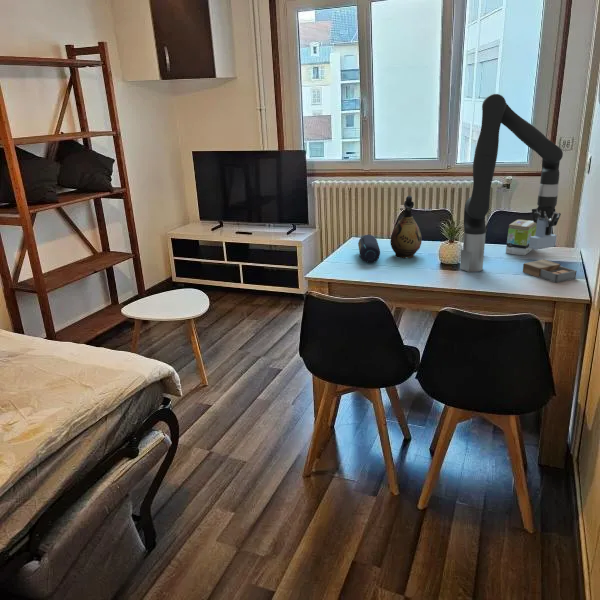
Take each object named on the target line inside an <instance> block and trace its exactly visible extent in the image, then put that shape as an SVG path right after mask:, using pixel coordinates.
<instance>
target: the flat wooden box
mask: <svg viewBox="0 0 600 600" xmlns="http://www.w3.org/2000/svg"><path fill="white" fill-rule="evenodd" d="M559 266H561V264H560V263H557V262H554V261H551V260H549V259H548V260H547V259H544V258H543V259H538V260H533V261H529V262H524V263H523V266H522V272H523V273H525V274H528V275H531V276H534V277H536V278H540V274H541V270H545V271H553V270H558V269H559Z"/></svg>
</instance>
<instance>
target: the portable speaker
mask: <svg viewBox="0 0 600 600" xmlns="http://www.w3.org/2000/svg"><path fill="white" fill-rule="evenodd" d="M357 244H358V251H359V256H360V259H361V260H362V261H363V262H365V263H367V264H372V263H375V262H377V261H378V260H379V259H380V256H381V248H380V246H379V243H378V240H377V238H376V237H375V236H373V235H371V234H365V235H364V236H361V237H360V238H359V240H358V243H357Z"/></svg>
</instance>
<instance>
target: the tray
mask: <svg viewBox="0 0 600 600" xmlns="http://www.w3.org/2000/svg"><path fill="white" fill-rule="evenodd" d="M560 270H565V271H569V272H566V273H561V274H554V273H552V272H556V271H560ZM539 278H540V279H543V280H546V281H550V282H552V283H555V284H558V283H562V282H566V281H572V280H575V279H576V278H577V270H575V269H571V268H569V267H565V266H562V265H560V266H559V269H558V270H553V271H545V270H541V274H540V277H539Z"/></svg>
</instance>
